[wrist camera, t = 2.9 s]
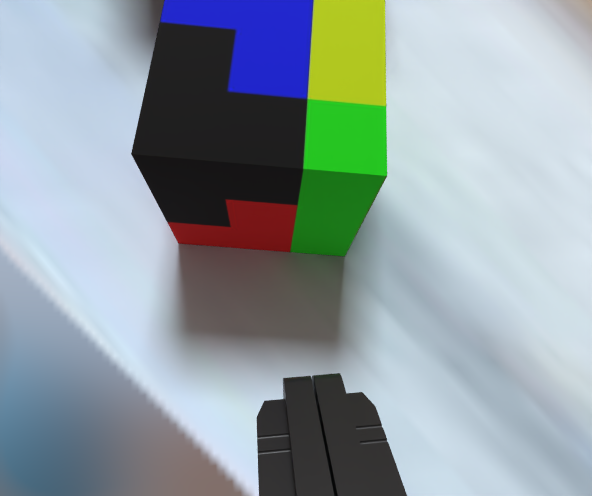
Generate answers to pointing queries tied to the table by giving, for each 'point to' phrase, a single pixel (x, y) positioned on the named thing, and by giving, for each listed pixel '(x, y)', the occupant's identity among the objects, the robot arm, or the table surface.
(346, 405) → the robot arm
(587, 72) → the table surface
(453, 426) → the table surface
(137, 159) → the puzzle toy
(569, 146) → the table surface
